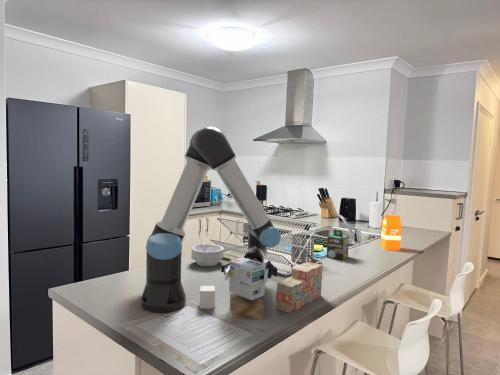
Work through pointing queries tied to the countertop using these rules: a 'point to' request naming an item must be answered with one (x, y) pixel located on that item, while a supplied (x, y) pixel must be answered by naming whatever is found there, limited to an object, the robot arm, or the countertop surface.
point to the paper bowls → (207, 254)
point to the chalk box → (337, 245)
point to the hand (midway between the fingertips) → (245, 277)
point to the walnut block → (245, 307)
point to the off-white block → (207, 296)
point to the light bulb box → (247, 278)
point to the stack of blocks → (299, 287)
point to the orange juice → (391, 232)
